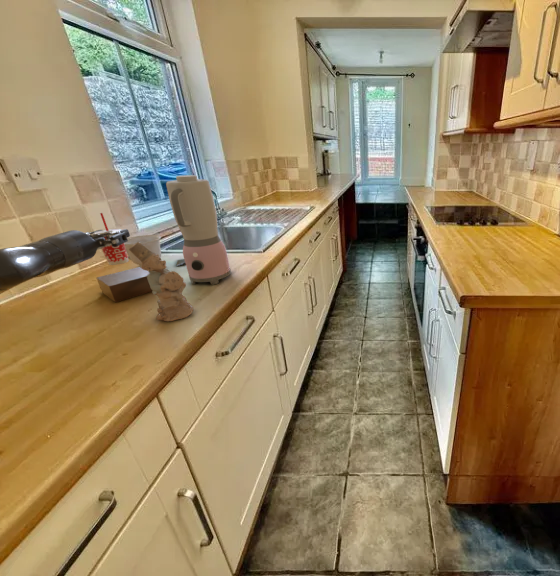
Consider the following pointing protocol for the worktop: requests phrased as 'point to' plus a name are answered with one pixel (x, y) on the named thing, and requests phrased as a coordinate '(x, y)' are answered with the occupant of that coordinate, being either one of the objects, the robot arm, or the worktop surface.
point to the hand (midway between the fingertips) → (115, 233)
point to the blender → (198, 229)
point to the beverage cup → (113, 249)
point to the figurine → (163, 285)
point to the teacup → (148, 241)
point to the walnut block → (125, 284)
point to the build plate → (181, 262)
